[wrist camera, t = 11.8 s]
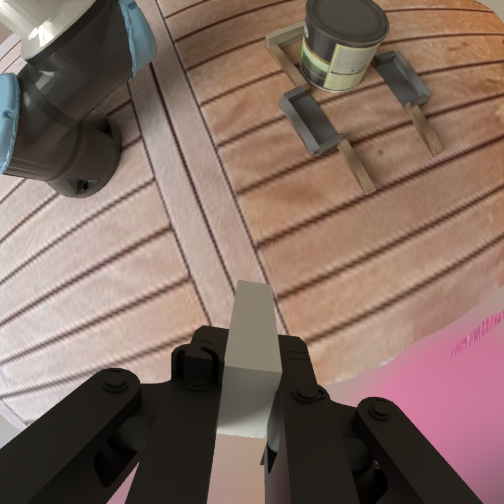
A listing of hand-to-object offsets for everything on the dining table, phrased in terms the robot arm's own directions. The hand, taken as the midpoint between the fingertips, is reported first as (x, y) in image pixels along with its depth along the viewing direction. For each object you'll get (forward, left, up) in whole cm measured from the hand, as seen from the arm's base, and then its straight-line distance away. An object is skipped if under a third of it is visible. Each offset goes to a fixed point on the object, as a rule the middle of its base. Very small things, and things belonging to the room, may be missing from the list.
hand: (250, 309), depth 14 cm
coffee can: (-1, +32, -28) cm, 42 cm away
